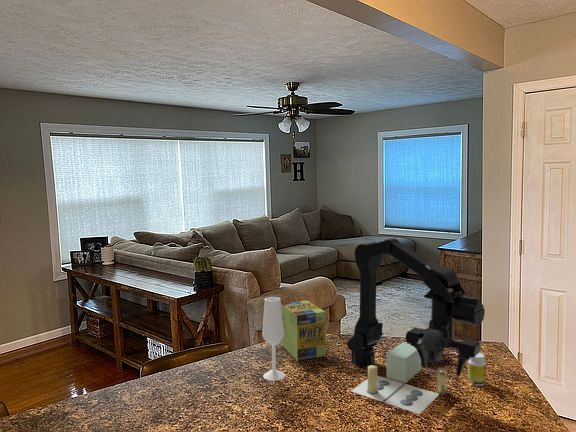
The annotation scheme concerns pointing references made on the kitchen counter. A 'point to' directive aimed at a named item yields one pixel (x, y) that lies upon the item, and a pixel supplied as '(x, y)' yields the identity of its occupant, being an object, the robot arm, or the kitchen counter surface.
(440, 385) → the brass pin
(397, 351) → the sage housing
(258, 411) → the kitchen counter surface
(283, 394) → the kitchen counter surface
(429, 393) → the board
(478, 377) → the supplement bottle
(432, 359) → the black rough lump
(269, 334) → the champagne flute
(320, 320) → the protein box
